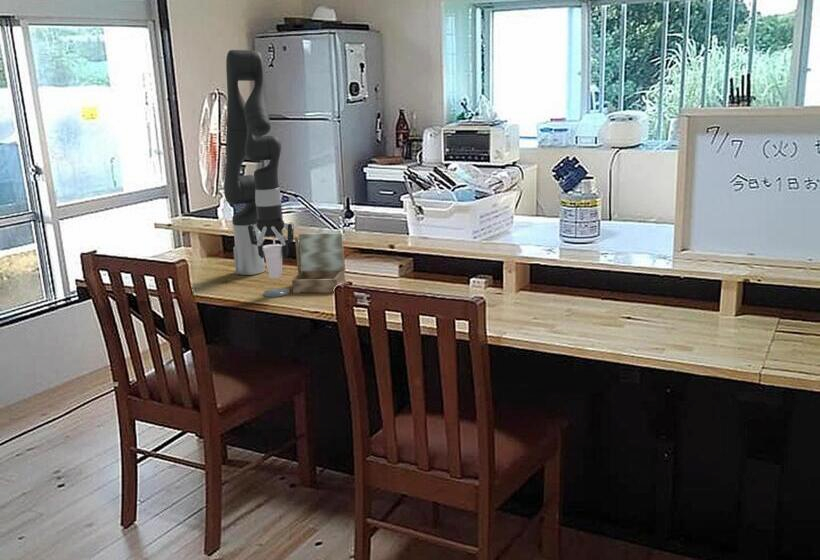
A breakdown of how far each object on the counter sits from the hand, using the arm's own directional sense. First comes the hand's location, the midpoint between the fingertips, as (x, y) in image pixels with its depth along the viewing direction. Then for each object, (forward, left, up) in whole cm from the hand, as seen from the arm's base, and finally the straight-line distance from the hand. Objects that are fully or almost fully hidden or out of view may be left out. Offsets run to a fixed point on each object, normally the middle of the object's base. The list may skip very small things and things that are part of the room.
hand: (273, 257), depth 248 cm
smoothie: (0, 0, -6) cm, 6 cm away
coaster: (0, 0, -12) cm, 12 cm away
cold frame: (+12, +6, -12) cm, 18 cm away
